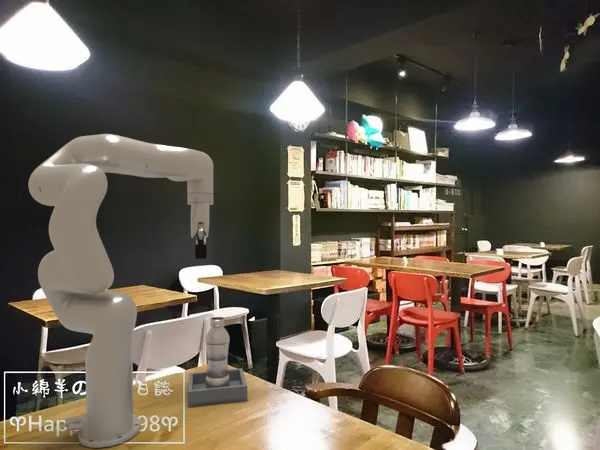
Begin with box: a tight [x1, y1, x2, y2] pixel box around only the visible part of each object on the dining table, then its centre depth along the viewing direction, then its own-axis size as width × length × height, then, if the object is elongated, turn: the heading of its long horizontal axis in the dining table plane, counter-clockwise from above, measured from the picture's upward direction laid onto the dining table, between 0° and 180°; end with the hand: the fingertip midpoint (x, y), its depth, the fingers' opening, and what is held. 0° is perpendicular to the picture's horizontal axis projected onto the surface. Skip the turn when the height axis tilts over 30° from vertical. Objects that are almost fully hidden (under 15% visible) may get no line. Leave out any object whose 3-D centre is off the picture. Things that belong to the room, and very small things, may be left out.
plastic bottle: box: [204, 316, 231, 389], centre depth 110 cm, size 6×7×20 cm
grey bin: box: [187, 368, 248, 408], centre depth 112 cm, size 15×13×4 cm
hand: (200, 257), depth 123 cm, fingers open, 9 cm apart
